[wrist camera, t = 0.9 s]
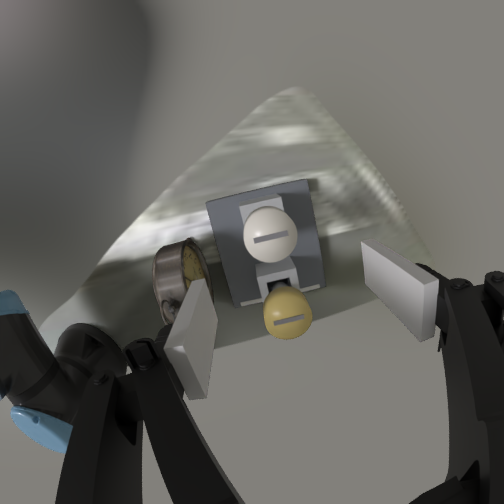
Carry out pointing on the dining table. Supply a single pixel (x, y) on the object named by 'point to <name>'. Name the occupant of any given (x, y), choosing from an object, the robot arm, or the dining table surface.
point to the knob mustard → (286, 312)
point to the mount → (258, 272)
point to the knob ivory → (269, 234)
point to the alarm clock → (177, 275)
